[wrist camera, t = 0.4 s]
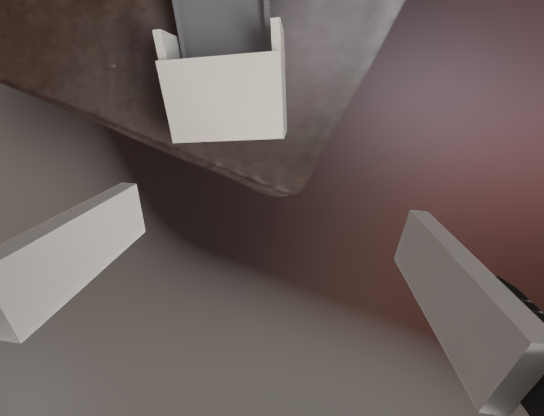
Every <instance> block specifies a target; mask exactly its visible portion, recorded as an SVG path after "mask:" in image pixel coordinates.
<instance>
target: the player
mask: <svg viewBox="0 0 544 416" xmlns="http://www.w3.org/2000/svg"><path fill="white" fill-rule="evenodd" d="M270 24H271V45H272V51H265V52H254V53H242V54H230V55H218V56H206V57H195V58H183V59H182V54H181V48H180V43H179V37H177V36H175V35H172V34H170V33H168V32H166V31H164V30H161V29H157V30H152V32H153V37H154V42H155V46H156V51H157V56H158V60H159V61H155V63H156V68H157V72H158V77H159V81H160V86H161V90H162V95H163V100H164V104H165V109H166V113H167V118H168V123H169V127H170V132H171V136H172V141H173V143H190V142H214V141H239V140H263V139H284V137H285V134H286V132H287V117H286V84H285V52H284V30H283V26H282V23H281V19H280V17H275V18H270Z"/></svg>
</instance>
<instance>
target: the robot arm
mask: <svg viewBox="0 0 544 416" xmlns="http://www.w3.org/2000/svg"><path fill="white" fill-rule="evenodd" d="M143 233H145V226H144V221H143V216H142V210H141V205H140V200H139V194H138V189H137V184H134V183H120V184H118V185H116V186H114V187H112V188H110V189H108V190H106V191H104V192H102V193H100V194H98V195H96V196H94V197H92V198H90V199H88V200H86V201H84V202H82V203H80V204H78V205H76V206H74V207H72V208H71V209H68V210H67V211H64V212H62V213H61V214H59V215H57V216H55V217H53V218H51V219H49V220H47V221H45V222H43V223H41V224H39V225H37V226H35V227H33V228H31V229H29V230H27V231H25V232H23V233H21V234H19V235H17V236H15V237H13V238H11V239H9V240H7V241H5V242H3V243H1V244H0V340H1V341H8V342H14V343H22V342H23V341H24V340H26V339H27V338H28V337H29V336H30V335H31V334H32V333H33V332H35V331H36V330H37V329H38V328H39V327H40V326H41V325H42V324H43V323H45V322H46V321H47V320H48V319H49V318H50V317H51V316H52V315H53V314H55V313H56V312H57V311H58V310H59V309H60V308H61V307H62V306H63V305H64V304H66V303H67V302H68V301H69V300H70V299H71V298H72V297H73V296H75V295H76V294H77V293H78V292H79V291H80V290H81V289H82V288H83V287H85V286H86V285H87V284H88V283H89V282H90V281H91V280H92V279H93V278H95V276H97V275H98V274H99V273H100V272H101V271H102V270H103V269H105V268H106V267H107V266H108V265H109V264H110V263H111V262H112V261H113V260H115V259H116V258H117V257H118V256H119V255H120V254H121V253H122V252H123V251H125V250H126V249H127V248H128V247H129V246H130V245H131V244H132V243H133V242H134V241H136V240H137V239H138V238H139V237H140V236H141V235H142V234H143ZM394 260H395V262H396V264H397V265H398V267H399V269H400V271H401V273H402V274H403V276H404V278H405V280H406V282H407V284H408V285H409V287H410V289H411V291H412V293H413V295H414V296H415V298H416V300H417V301H418V304H419V305H420V307H421V309H422V311H423V312H424V314H425V316H426V318H427V320H428V322H429V324H430V325H431V327H432V329H433V331H434V333H435V335H436V336H437V338H438V340H439V342H440V344H441V346H442V347H443V349H444V351H445V353H446V354H447V356H448V358H449V360H450V362H451V364H452V365H453V367H454V369H455V371H456V373H457V375H458V376H459V378H460V380H461V382H462V384H463V386H464V387H465V389H466V391H467V393H468V395H469V397H470V398H471V400H472V402H473V404H474V406H475V407H476V409H477V411H478V412H480V413H486V414H493V415H500V416H510V415H511V414H512V413H513V412H514V411H515V409H516V408H517V407H518V406H519V405H520V404H522V406H523V407H524V408H525V410H526V411H527V413H528V414H529V415H530V416H544V314H543V313H542V311H541V310H540V309H539V308H538V307H537V306H536V305H535V304H533V303H530V300H529V299H528V298H527V297H526V296H525V295H524V294H523V293H522V292H520V291H519V290H518V289H517V288H516V287H514V286H513V285H511V284H510V283H508V282H506V281H505V280H503V279H502V278H500V277H498V276H494V275H493V274H492V273H491V272H490V271H489V270H488V269H487V268H486V267H485V266H484V265H483V264H482V263H481V262H480V261H479V260H478V259H477V258H476V257H475V256H473V255H472V254H471V253H470V252H469V251H468V250H467V249H466V248H465V247H464V246H463V245H462V244H461V243H460V242H459V241H458V240H457V239H456V238H455V237H454V236H453V235H452V234H450V233H449V232H448V231H447V230H446V229H445V228H444V227H443V226H442V225H441V224H440V223H439V222H438V221H437V220H436V219H435V218H434V217H433V216H432V215H431V214H429V212H426V211H415V210H410V212H409V216H408V218H407V221H406V224H405V228H404V231H403V233H402V236H401V239H400V242H399V245H398V249H397V251H396V254H395V257H394Z"/></svg>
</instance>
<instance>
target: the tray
mask: <svg viewBox="0 0 544 416" xmlns="http://www.w3.org/2000/svg"><path fill="white" fill-rule="evenodd" d="M172 4H173V9H174V15H175V20H176V26H177V32H178V37H179V43H180V48H181V54H182V59H183V58H195V57H206V56H218V55H230V54H242V53H254V52H265V51H272V45H271V24H270V18H271V6H270V0H172Z"/></svg>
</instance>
